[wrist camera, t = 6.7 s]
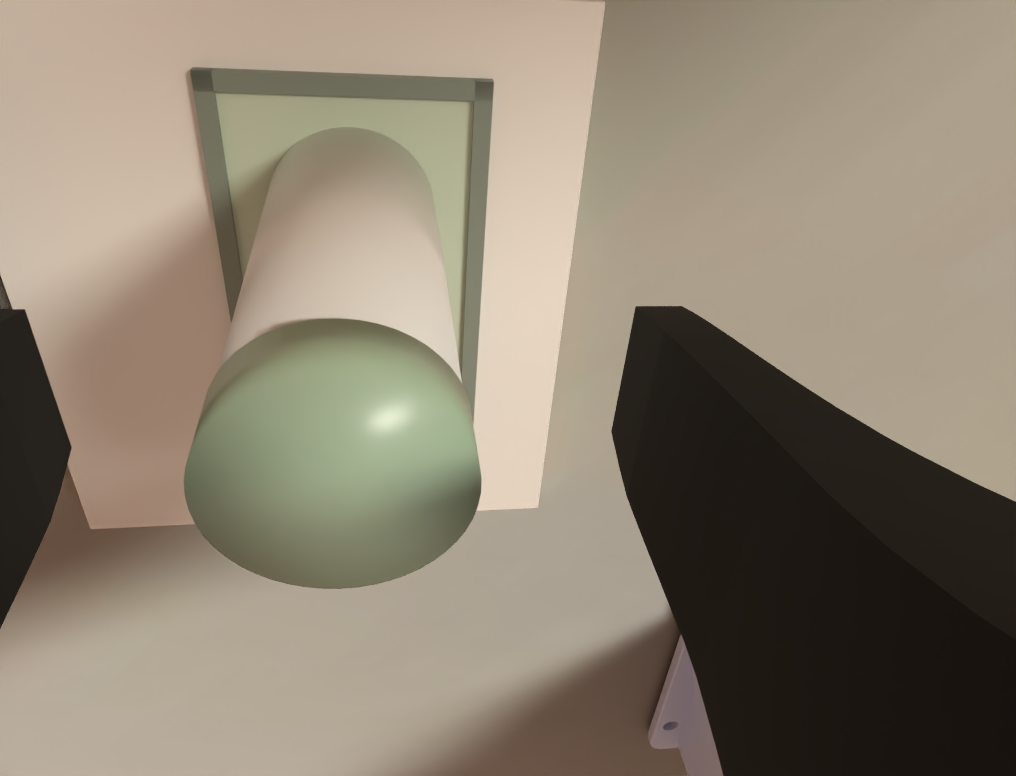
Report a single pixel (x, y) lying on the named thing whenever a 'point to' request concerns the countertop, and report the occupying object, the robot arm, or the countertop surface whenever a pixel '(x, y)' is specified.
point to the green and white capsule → (338, 380)
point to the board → (243, 190)
